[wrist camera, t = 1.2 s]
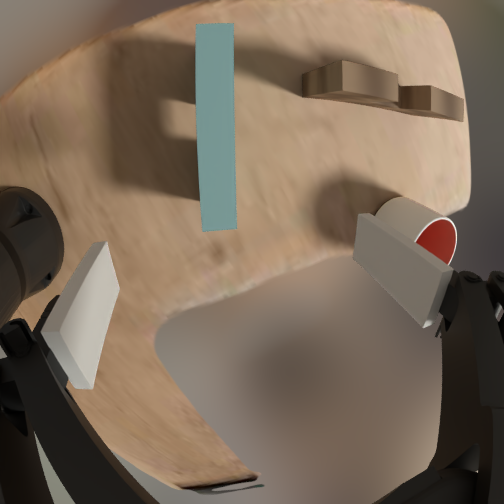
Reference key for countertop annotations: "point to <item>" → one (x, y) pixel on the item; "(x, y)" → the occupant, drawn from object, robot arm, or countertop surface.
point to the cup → (421, 226)
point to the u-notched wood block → (379, 91)
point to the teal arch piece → (216, 125)
